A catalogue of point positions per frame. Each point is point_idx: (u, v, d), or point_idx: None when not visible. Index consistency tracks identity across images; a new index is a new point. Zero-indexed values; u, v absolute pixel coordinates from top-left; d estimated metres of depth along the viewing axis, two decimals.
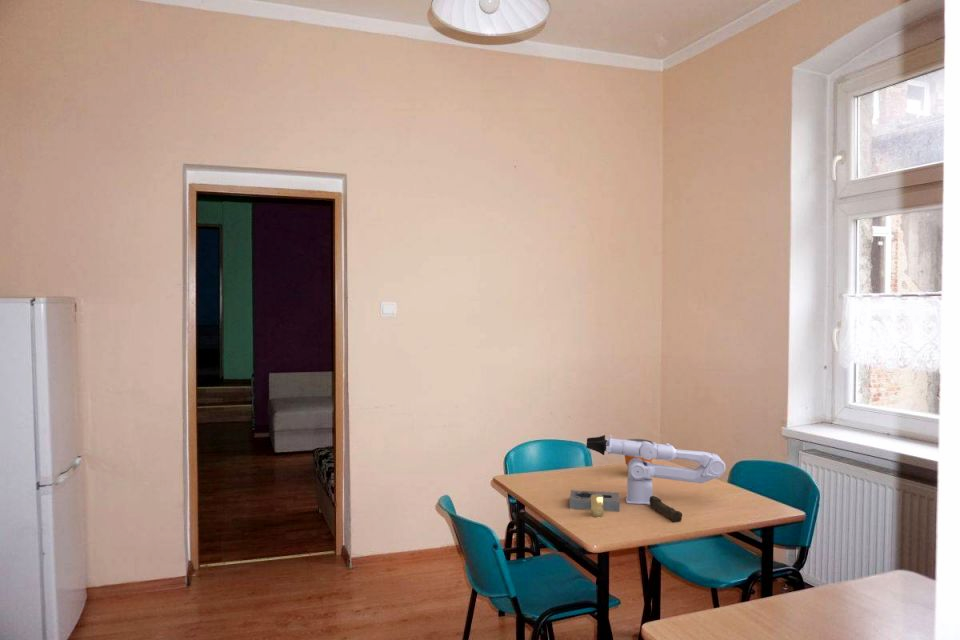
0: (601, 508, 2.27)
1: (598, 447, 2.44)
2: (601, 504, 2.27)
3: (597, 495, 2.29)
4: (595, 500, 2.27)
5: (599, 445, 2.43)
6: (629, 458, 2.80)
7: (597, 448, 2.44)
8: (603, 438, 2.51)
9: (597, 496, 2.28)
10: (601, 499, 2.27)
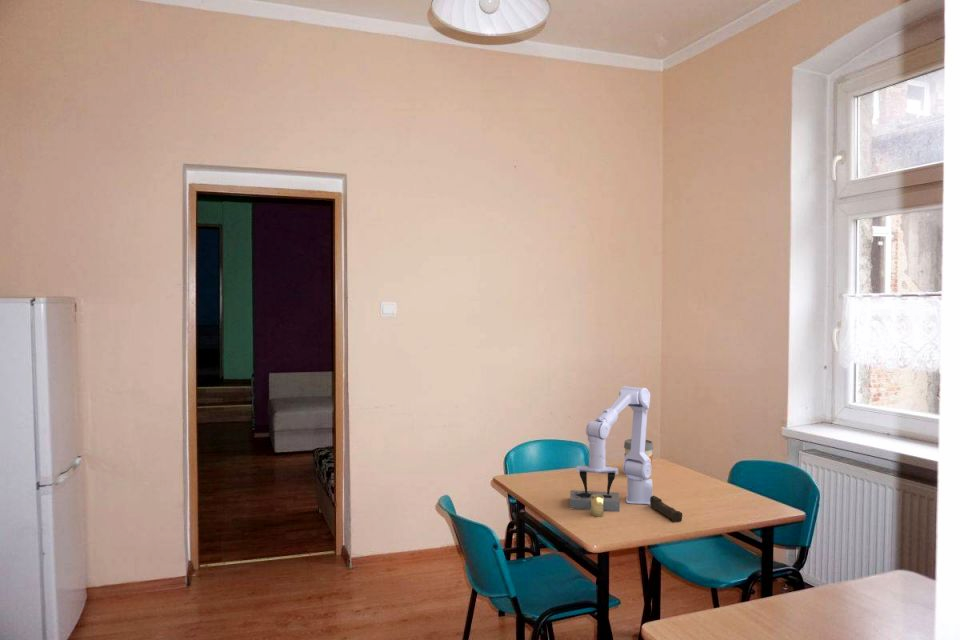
0: (601, 508, 2.27)
1: None
2: (601, 504, 2.27)
3: (597, 495, 2.29)
4: (595, 500, 2.27)
5: None
6: None
7: None
8: (586, 476, 2.27)
9: (597, 496, 2.28)
10: (601, 499, 2.27)
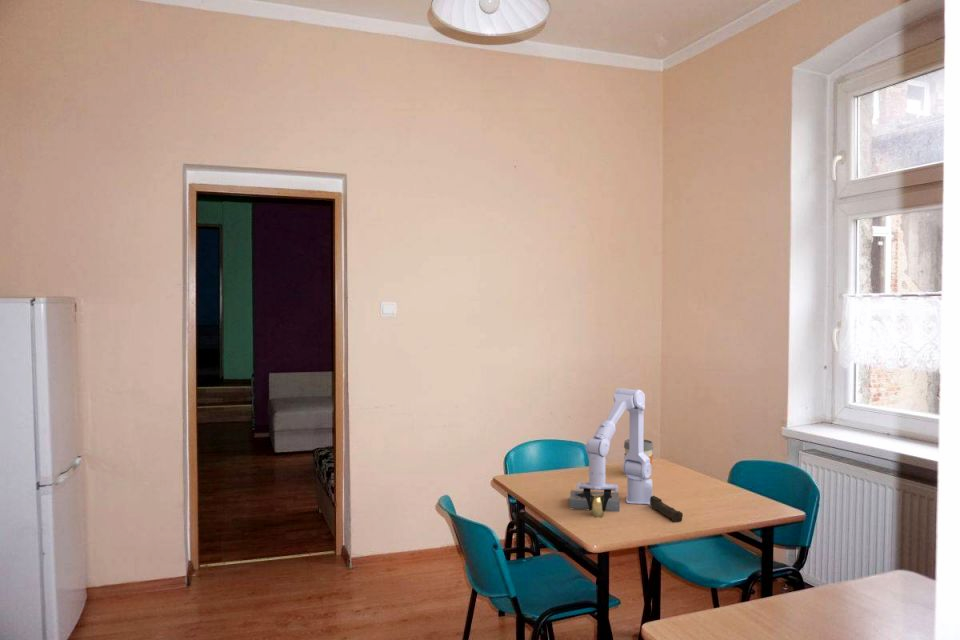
0: (601, 508, 2.27)
1: None
2: (601, 504, 2.27)
3: (597, 495, 2.29)
4: (595, 500, 2.27)
5: None
6: None
7: None
8: (590, 493, 2.27)
9: (597, 496, 2.28)
10: (601, 499, 2.27)
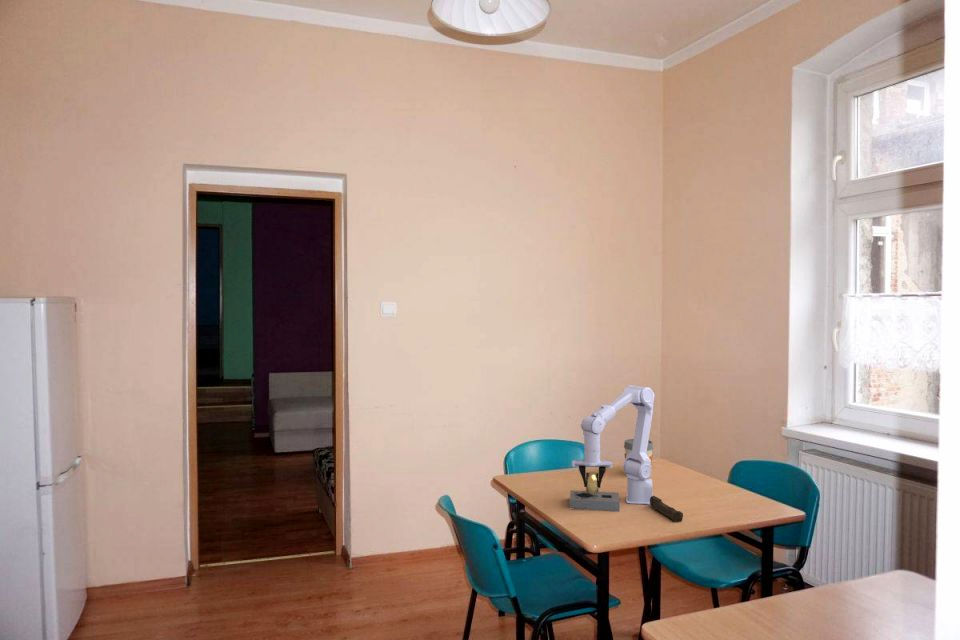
0: (596, 485, 2.32)
1: None
2: (596, 481, 2.32)
3: (592, 472, 2.34)
4: (590, 477, 2.31)
5: None
6: None
7: None
8: (585, 470, 2.32)
9: (592, 473, 2.33)
10: (596, 476, 2.32)
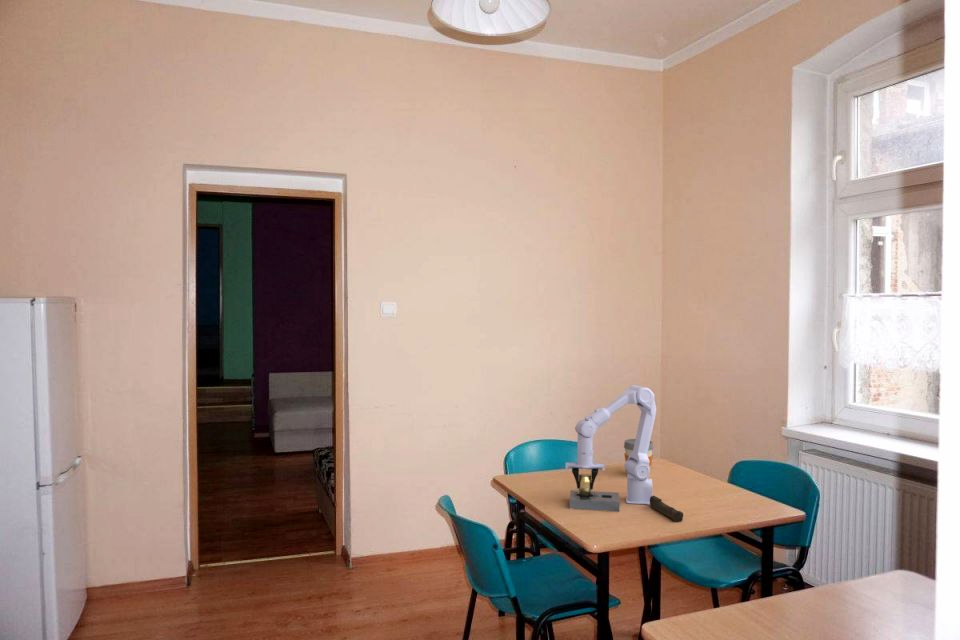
0: (589, 487, 2.39)
1: None
2: (589, 483, 2.39)
3: (585, 474, 2.41)
4: (583, 479, 2.39)
5: None
6: None
7: None
8: None
9: (585, 475, 2.40)
10: (589, 478, 2.39)
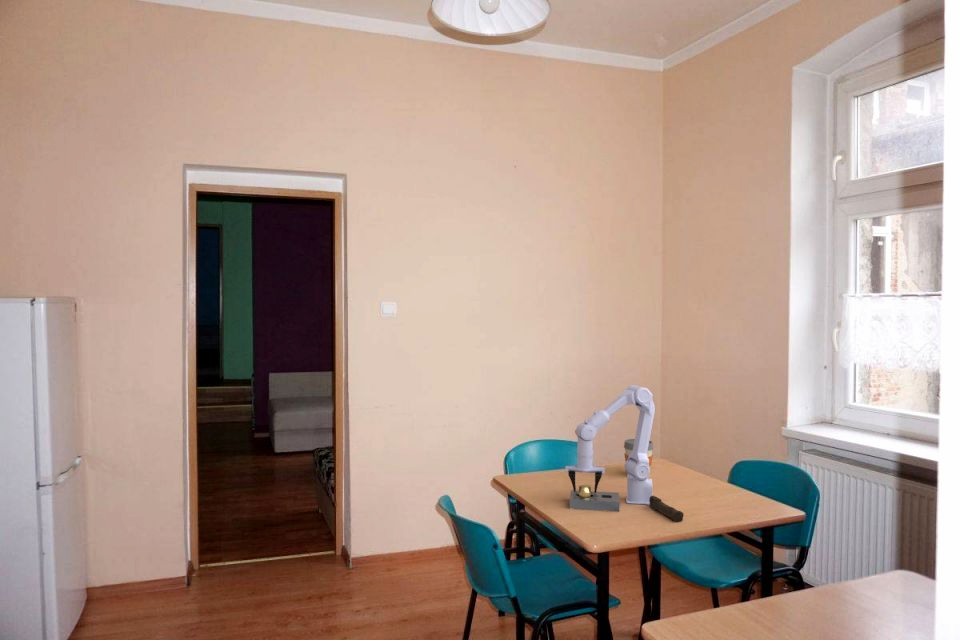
0: (589, 497, 2.39)
1: None
2: (589, 494, 2.39)
3: (584, 485, 2.42)
4: (583, 490, 2.39)
5: None
6: None
7: None
8: (574, 475, 2.40)
9: (585, 486, 2.40)
10: (589, 489, 2.39)
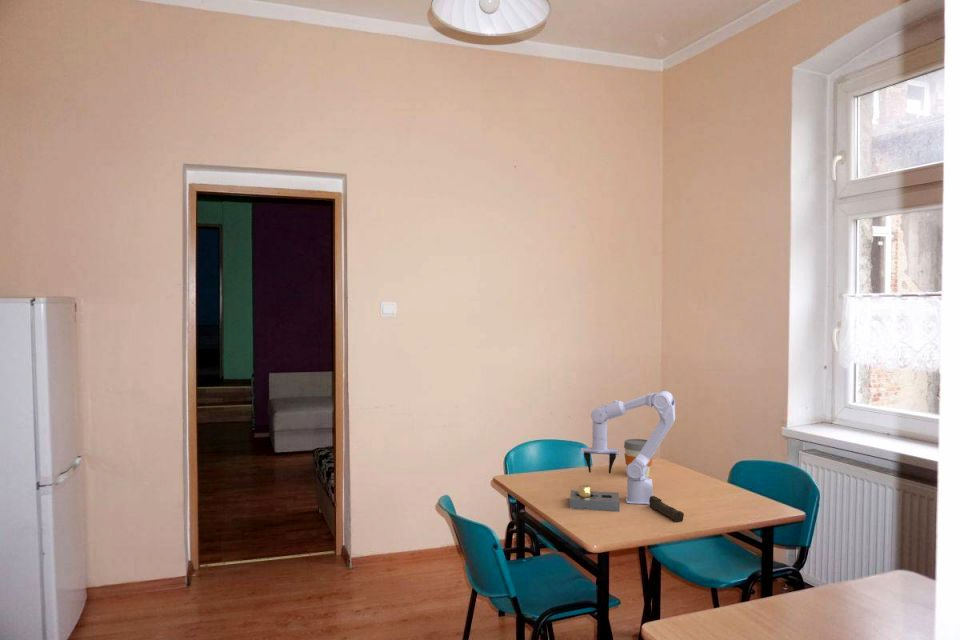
0: (589, 497, 2.39)
1: None
2: (589, 494, 2.39)
3: (584, 485, 2.42)
4: (583, 490, 2.39)
5: None
6: (629, 458, 2.80)
7: None
8: None
9: (585, 486, 2.40)
10: (589, 489, 2.39)
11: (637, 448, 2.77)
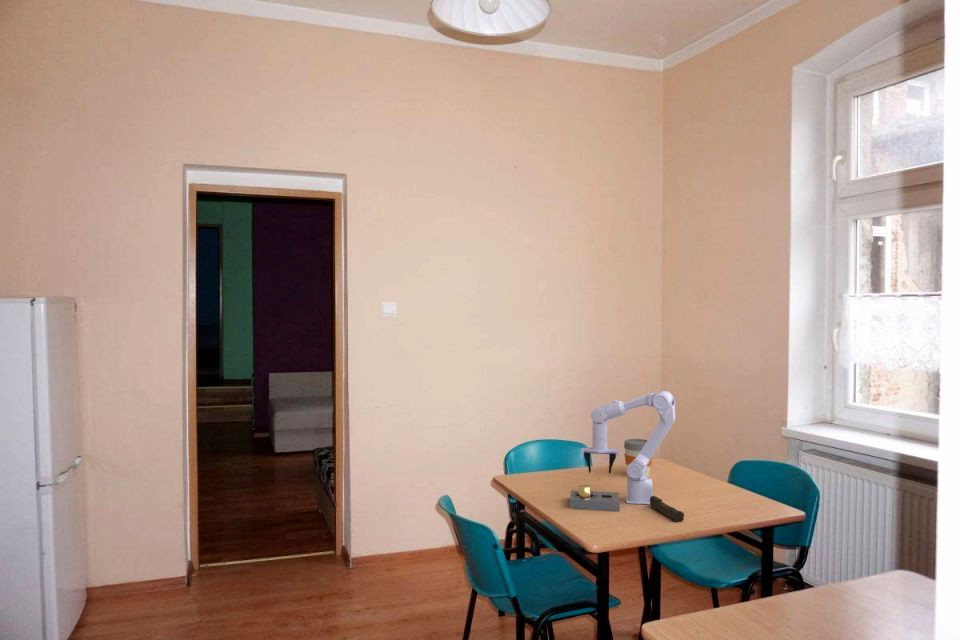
0: None
1: None
2: (589, 494, 2.39)
3: (584, 485, 2.42)
4: (583, 490, 2.39)
5: None
6: (629, 458, 2.80)
7: None
8: None
9: (585, 486, 2.40)
10: (589, 489, 2.39)
11: (637, 448, 2.77)
